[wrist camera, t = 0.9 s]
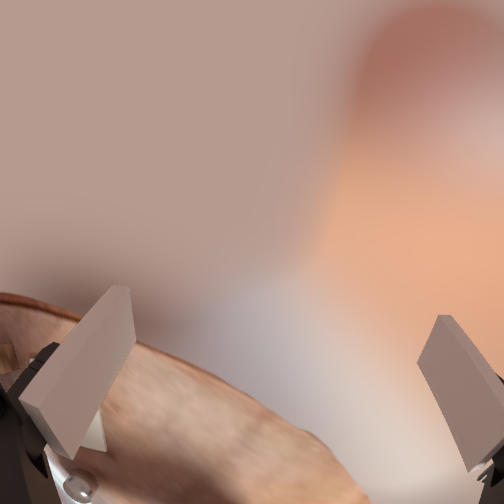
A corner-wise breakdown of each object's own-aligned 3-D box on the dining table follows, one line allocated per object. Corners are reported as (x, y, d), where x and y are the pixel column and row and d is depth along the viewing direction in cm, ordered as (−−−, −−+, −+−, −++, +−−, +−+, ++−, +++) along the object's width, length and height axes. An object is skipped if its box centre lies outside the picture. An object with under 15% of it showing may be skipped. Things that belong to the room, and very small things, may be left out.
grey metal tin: (101, 493, 39) (94, 506, 34) (76, 486, 38) (67, 498, 33) (95, 472, 39) (86, 485, 34) (69, 465, 39) (59, 477, 34)
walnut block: (19, 368, 40) (5, 373, 35) (4, 369, 39) (-11, 374, 34) (12, 342, 40) (-3, 346, 35) (-3, 344, 40) (-18, 348, 35)
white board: (107, 449, 40) (105, 451, 39) (45, 433, 39) (43, 435, 38) (96, 370, 42) (94, 371, 41) (32, 357, 40) (29, 359, 39)
